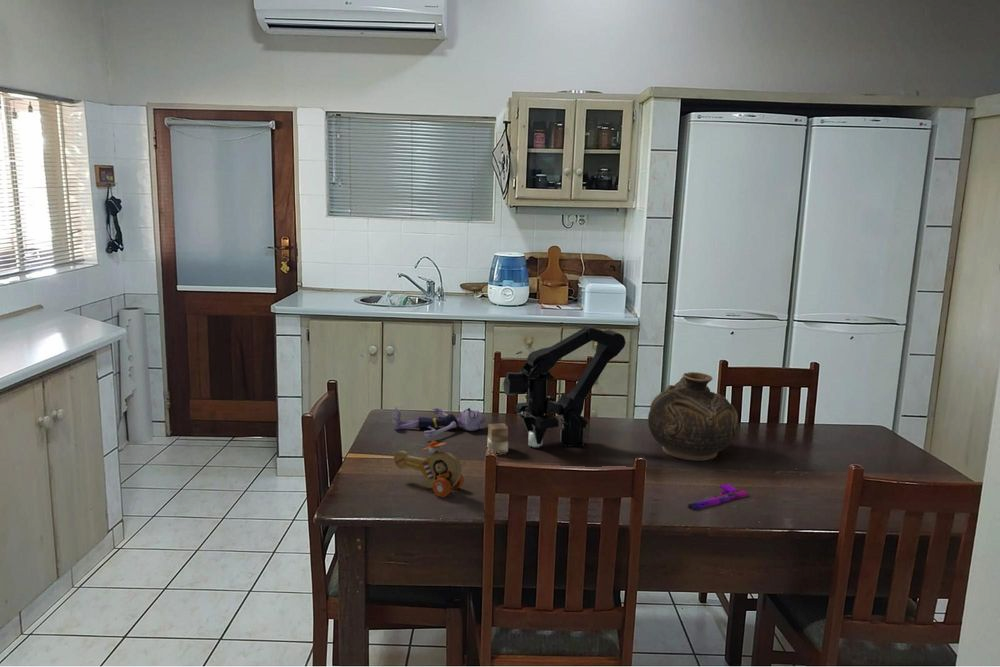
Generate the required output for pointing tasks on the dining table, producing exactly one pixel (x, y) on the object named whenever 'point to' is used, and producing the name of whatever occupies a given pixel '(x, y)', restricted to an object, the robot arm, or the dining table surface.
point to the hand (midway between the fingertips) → (535, 441)
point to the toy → (440, 421)
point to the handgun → (719, 497)
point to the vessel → (692, 419)
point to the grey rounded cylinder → (533, 440)
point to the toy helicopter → (434, 468)
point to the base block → (497, 446)
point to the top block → (497, 432)
